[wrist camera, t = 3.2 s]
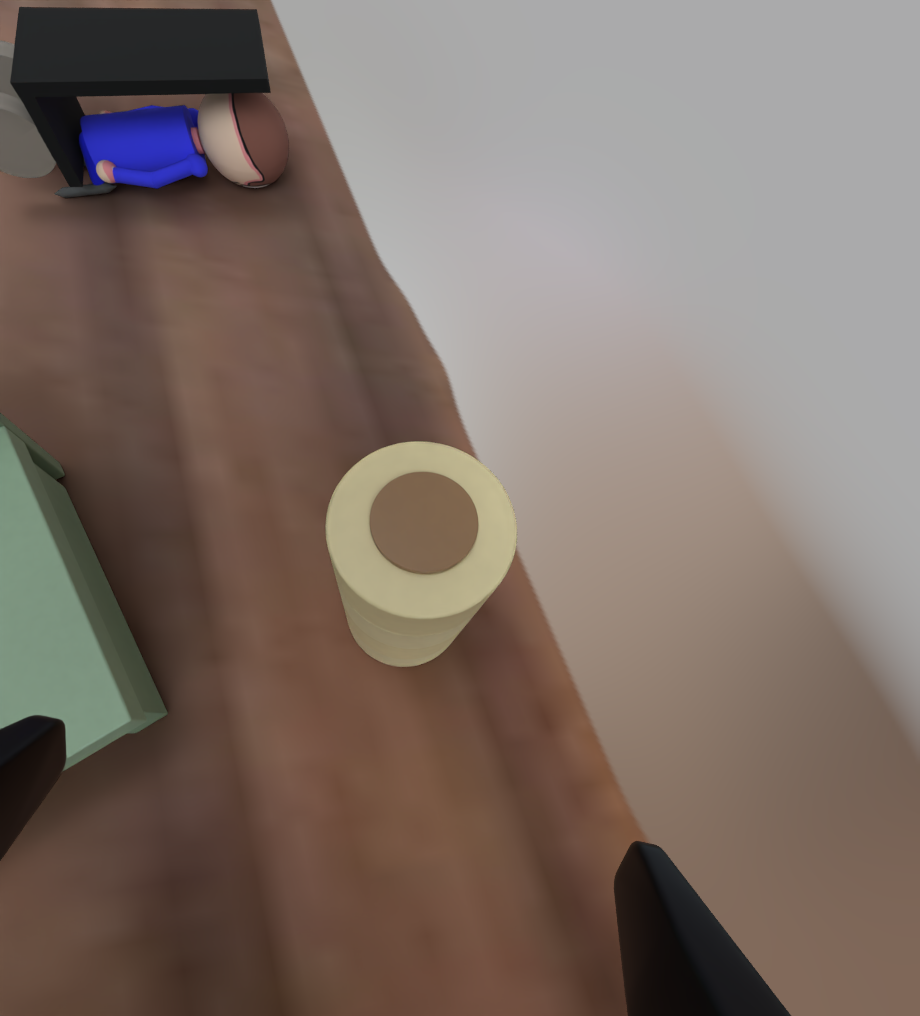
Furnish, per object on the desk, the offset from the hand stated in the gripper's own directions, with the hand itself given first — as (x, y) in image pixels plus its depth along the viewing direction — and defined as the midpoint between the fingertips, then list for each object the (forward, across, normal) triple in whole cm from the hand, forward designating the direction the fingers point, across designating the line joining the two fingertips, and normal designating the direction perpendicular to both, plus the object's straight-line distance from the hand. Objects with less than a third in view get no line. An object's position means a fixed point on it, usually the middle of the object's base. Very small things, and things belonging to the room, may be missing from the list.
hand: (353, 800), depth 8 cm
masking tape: (+13, 0, +4) cm, 14 cm away
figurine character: (+29, +20, -11) cm, 37 cm away
